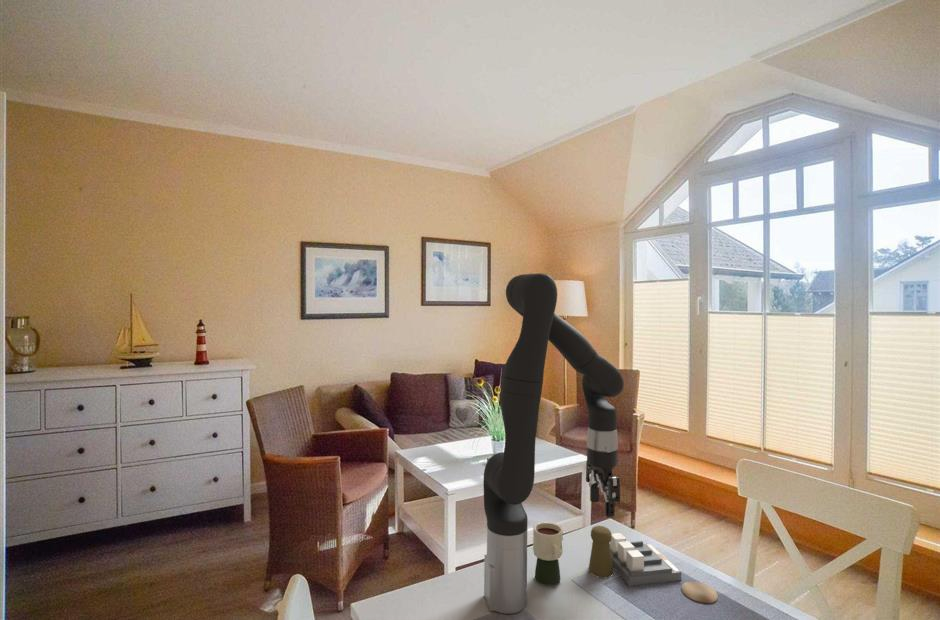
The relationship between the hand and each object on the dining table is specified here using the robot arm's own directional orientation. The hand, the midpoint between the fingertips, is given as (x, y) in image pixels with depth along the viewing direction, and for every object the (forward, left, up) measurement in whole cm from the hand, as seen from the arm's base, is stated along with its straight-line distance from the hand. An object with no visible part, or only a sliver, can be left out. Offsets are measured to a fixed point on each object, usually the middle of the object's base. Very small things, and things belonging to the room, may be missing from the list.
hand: (601, 508), depth 120 cm
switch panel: (+11, 0, -16) cm, 19 cm away
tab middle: (+7, 0, -14) cm, 15 cm away
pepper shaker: (0, 0, -16) cm, 16 cm away
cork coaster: (+19, -13, -16) cm, 28 cm away
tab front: (+7, -4, -14) cm, 16 cm away
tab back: (+7, +4, -14) cm, 16 cm away
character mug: (-15, -2, -16) cm, 22 cm away
